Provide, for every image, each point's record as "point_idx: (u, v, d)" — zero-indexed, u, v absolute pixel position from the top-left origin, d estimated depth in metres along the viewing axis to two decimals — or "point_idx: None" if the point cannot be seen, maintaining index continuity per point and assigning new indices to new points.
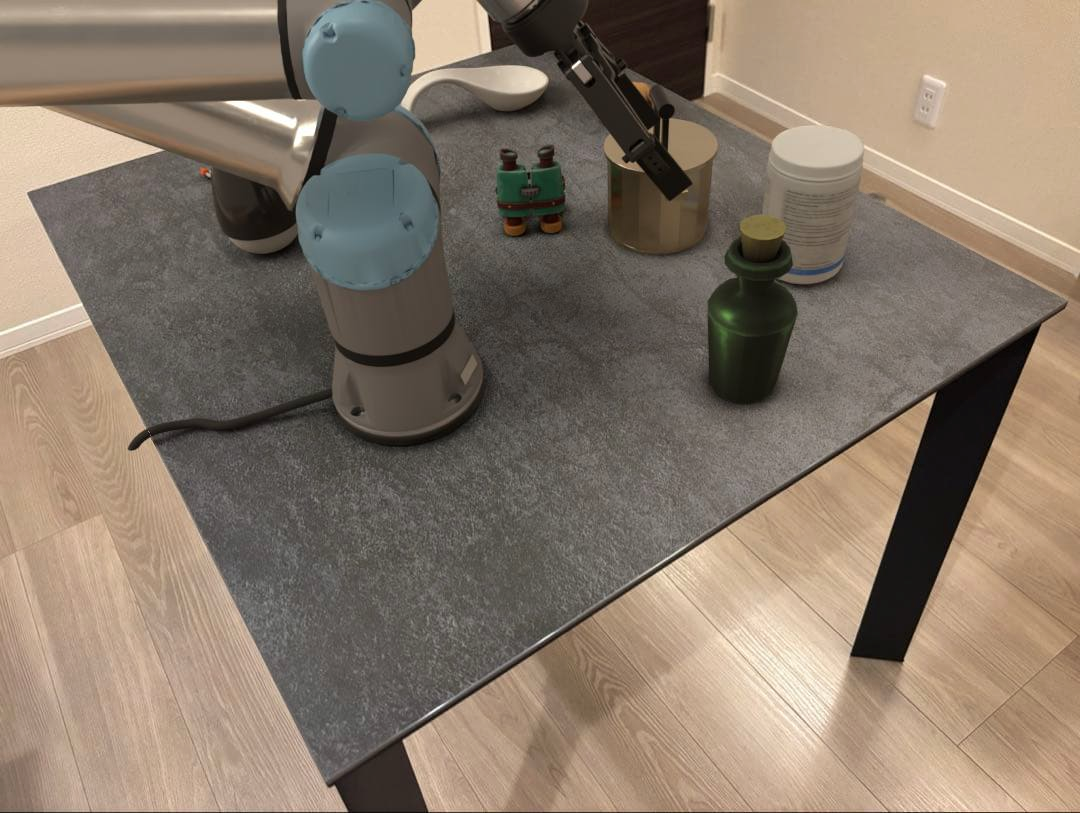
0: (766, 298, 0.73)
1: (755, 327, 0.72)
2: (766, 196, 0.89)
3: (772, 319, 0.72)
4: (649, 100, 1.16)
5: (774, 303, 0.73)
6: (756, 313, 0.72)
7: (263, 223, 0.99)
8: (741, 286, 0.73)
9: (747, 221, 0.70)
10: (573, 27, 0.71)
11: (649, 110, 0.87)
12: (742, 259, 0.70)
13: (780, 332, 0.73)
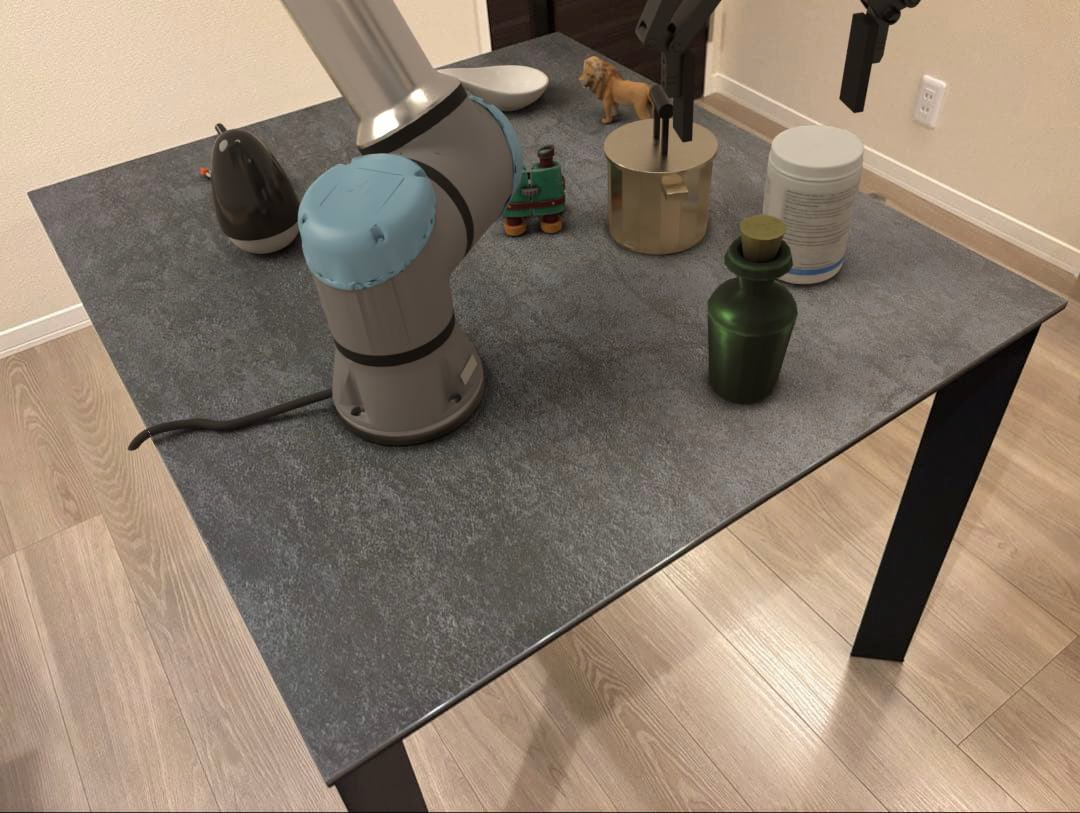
0: (766, 298, 0.73)
1: (755, 327, 0.72)
2: (766, 196, 0.89)
3: (772, 319, 0.72)
4: (649, 100, 1.16)
5: (774, 303, 0.73)
6: (756, 313, 0.72)
7: (263, 223, 0.99)
8: (741, 286, 0.73)
9: (747, 221, 0.70)
10: None
11: (856, 89, 0.63)
12: (742, 259, 0.70)
13: (780, 332, 0.73)
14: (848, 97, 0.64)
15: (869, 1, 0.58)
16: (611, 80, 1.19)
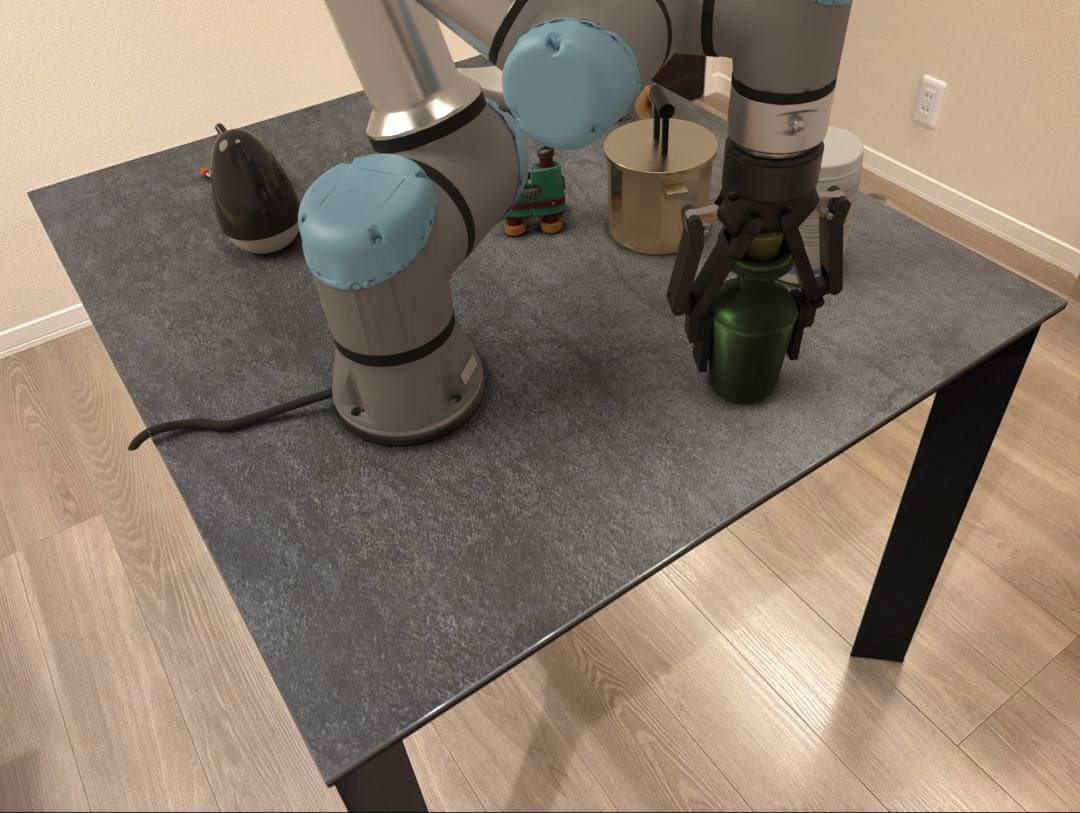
0: (767, 298, 0.73)
1: (756, 327, 0.72)
2: None
3: (773, 319, 0.72)
4: (649, 100, 1.16)
5: (775, 303, 0.73)
6: (756, 313, 0.72)
7: (263, 223, 0.99)
8: (741, 286, 0.73)
9: None
10: (732, 192, 0.65)
11: (791, 345, 0.78)
12: (743, 259, 0.70)
13: (780, 332, 0.73)
14: None
15: (804, 287, 0.73)
16: None
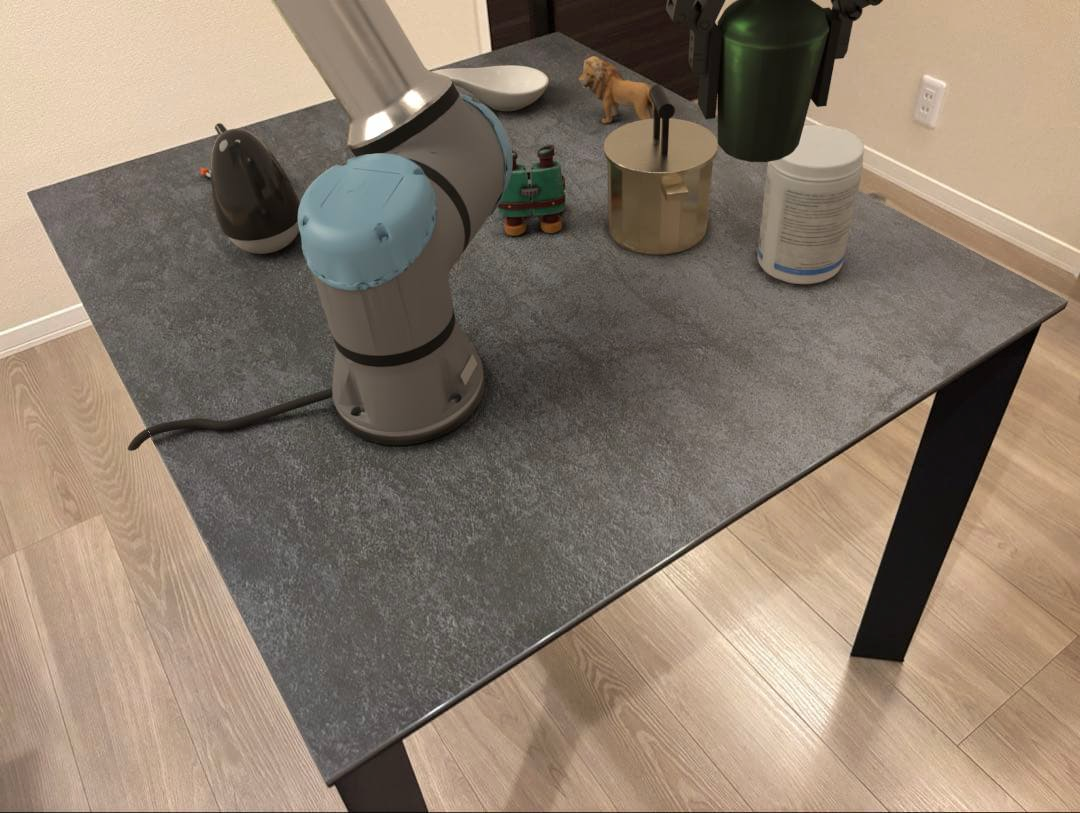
0: (791, 2, 0.59)
1: (777, 35, 0.58)
2: (766, 196, 0.89)
3: (798, 26, 0.58)
4: (649, 100, 1.16)
5: (801, 9, 0.59)
6: (778, 18, 0.58)
7: (263, 223, 0.99)
8: None
9: None
10: None
11: (819, 83, 0.64)
12: None
13: (807, 44, 0.59)
14: (813, 91, 0.65)
15: None
16: (611, 80, 1.19)
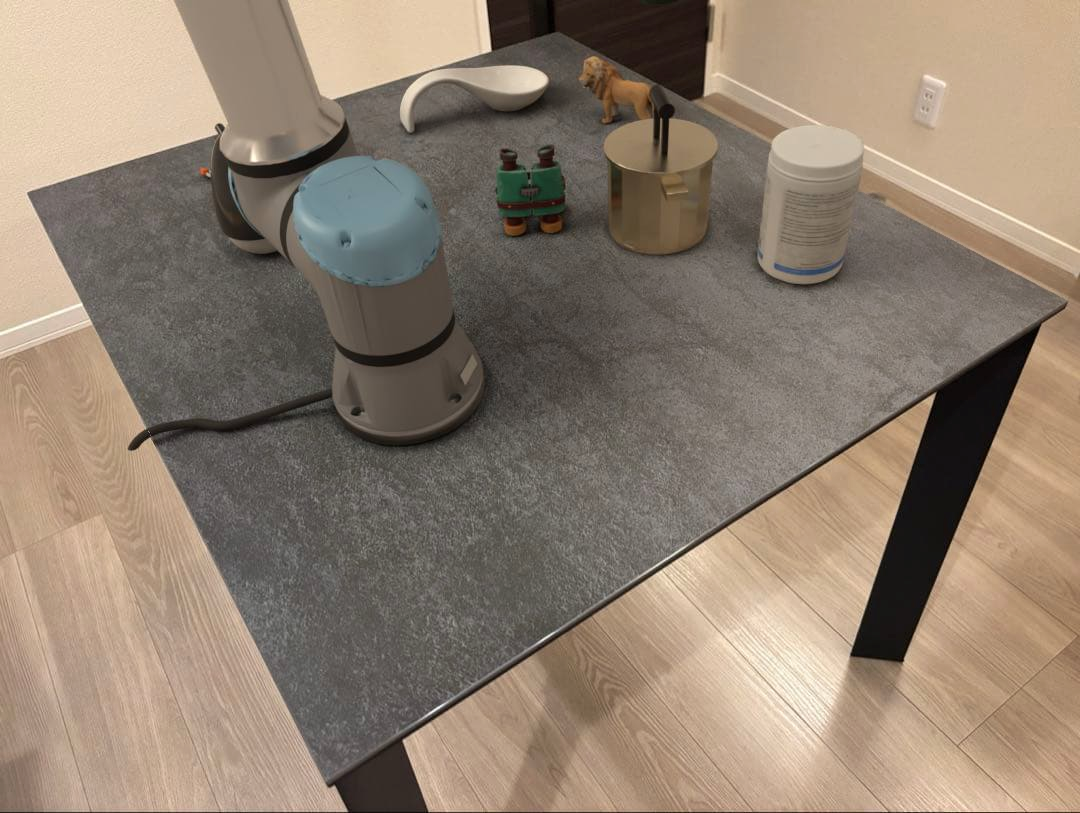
0: None
1: None
2: (766, 196, 0.89)
3: None
4: (649, 100, 1.16)
5: None
6: None
7: None
8: None
9: None
10: None
11: None
12: None
13: None
14: None
15: None
16: (611, 80, 1.19)
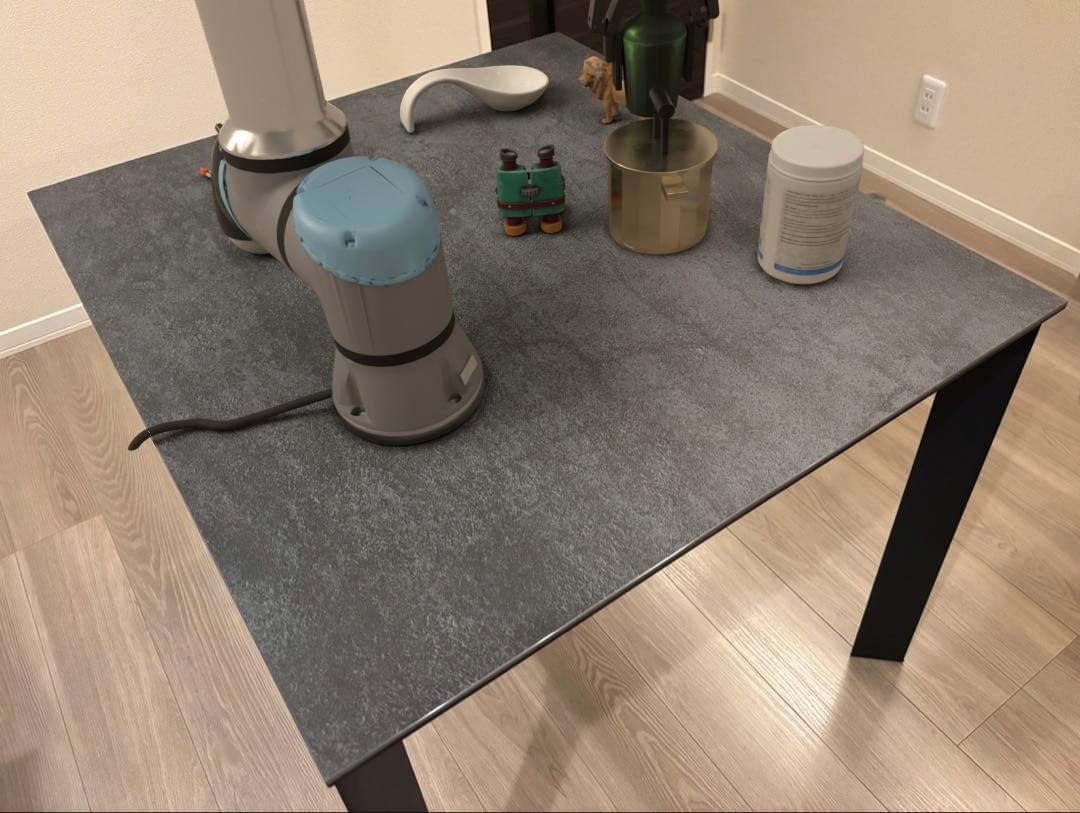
0: (661, 17, 0.97)
1: (653, 38, 0.97)
2: (766, 196, 0.89)
3: (665, 32, 0.97)
4: None
5: (667, 21, 0.97)
6: (653, 27, 0.97)
7: None
8: (642, 9, 0.97)
9: None
10: None
11: (686, 67, 1.02)
12: None
13: (671, 42, 0.97)
14: (683, 72, 1.04)
15: (690, 10, 0.97)
16: (611, 80, 1.19)
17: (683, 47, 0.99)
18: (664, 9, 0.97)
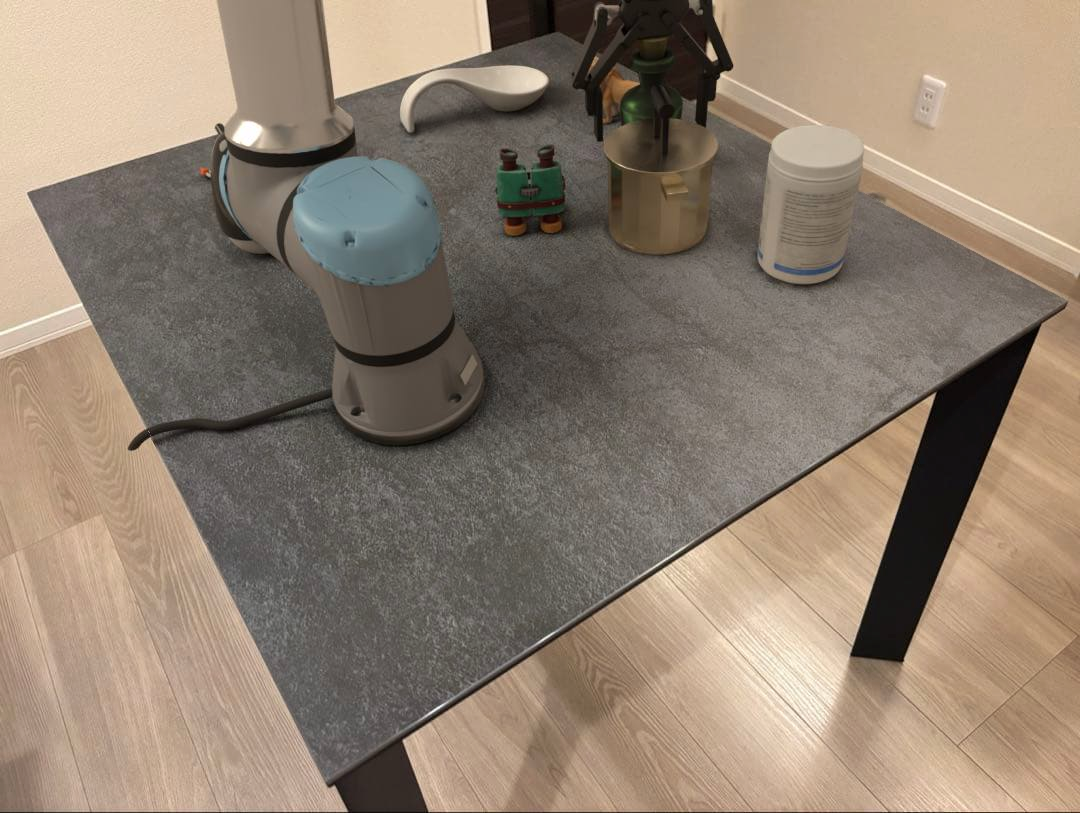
0: None
1: (651, 111, 1.03)
2: (766, 196, 0.89)
3: None
4: None
5: None
6: (651, 101, 1.03)
7: None
8: (641, 83, 1.04)
9: None
10: None
11: (700, 116, 1.07)
12: (639, 59, 1.01)
13: None
14: (698, 120, 1.08)
15: (702, 67, 1.02)
16: (611, 80, 1.19)
17: (679, 118, 1.06)
18: (661, 84, 1.03)
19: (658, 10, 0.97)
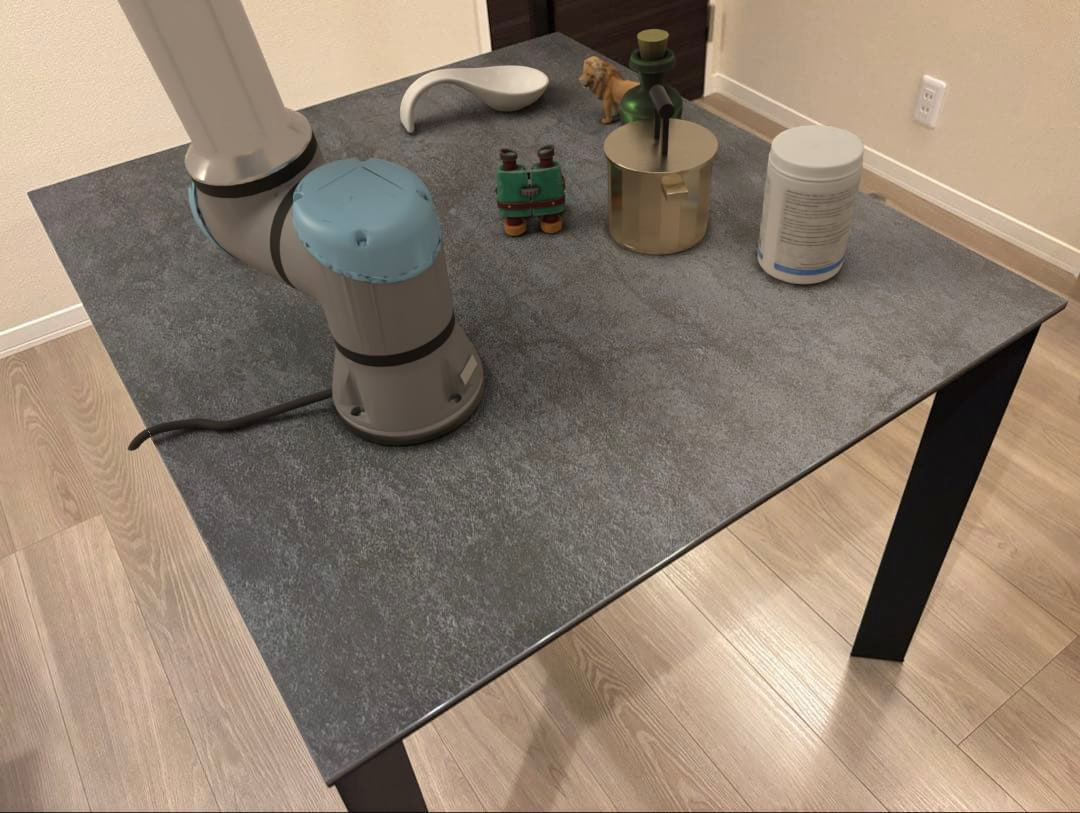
0: None
1: (651, 111, 1.03)
2: (766, 196, 0.89)
3: None
4: None
5: None
6: (651, 101, 1.03)
7: None
8: (641, 83, 1.04)
9: (643, 32, 1.01)
10: None
11: None
12: (639, 59, 1.01)
13: None
14: None
15: None
16: (611, 80, 1.19)
17: (679, 118, 1.06)
18: (661, 84, 1.03)
19: None
